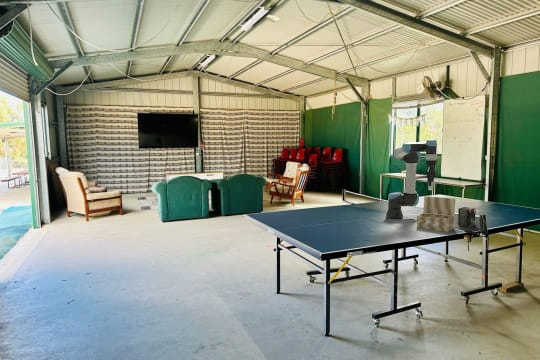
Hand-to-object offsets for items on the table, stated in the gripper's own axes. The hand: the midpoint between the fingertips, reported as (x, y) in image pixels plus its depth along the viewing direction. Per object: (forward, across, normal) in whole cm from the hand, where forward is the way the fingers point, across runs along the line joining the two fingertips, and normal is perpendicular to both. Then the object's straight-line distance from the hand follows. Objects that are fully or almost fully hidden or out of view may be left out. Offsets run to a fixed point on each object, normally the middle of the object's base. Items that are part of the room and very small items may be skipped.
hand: (430, 190), depth 275 cm
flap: (+15, +19, 0) cm, 25 cm away
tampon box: (+33, +36, -17) cm, 51 cm away
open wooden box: (+32, +12, 0) cm, 34 cm away
